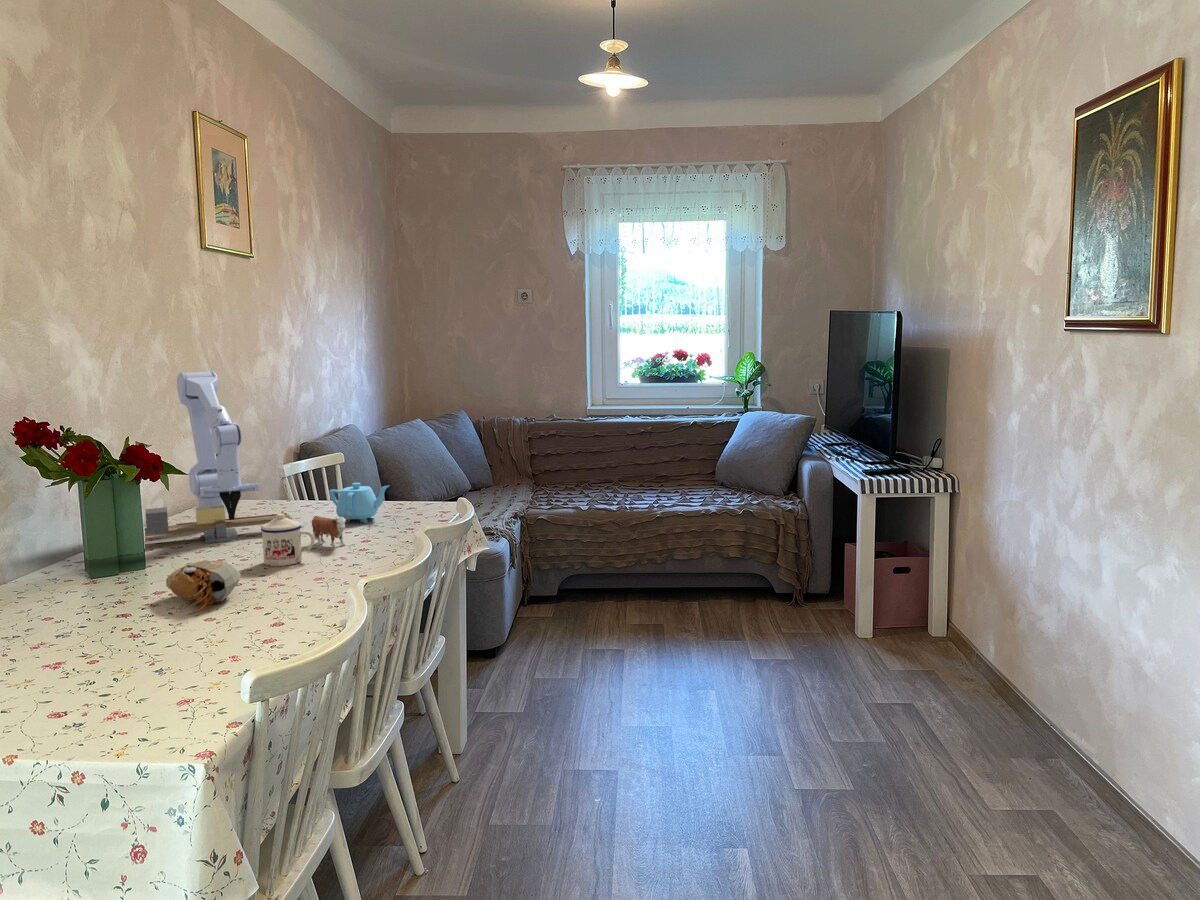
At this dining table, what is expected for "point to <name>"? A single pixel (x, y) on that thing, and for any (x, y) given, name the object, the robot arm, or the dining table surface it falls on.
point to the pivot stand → (220, 534)
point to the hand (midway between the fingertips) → (231, 519)
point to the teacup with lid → (283, 541)
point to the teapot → (357, 502)
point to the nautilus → (203, 582)
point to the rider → (210, 515)
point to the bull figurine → (328, 528)
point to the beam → (159, 523)
